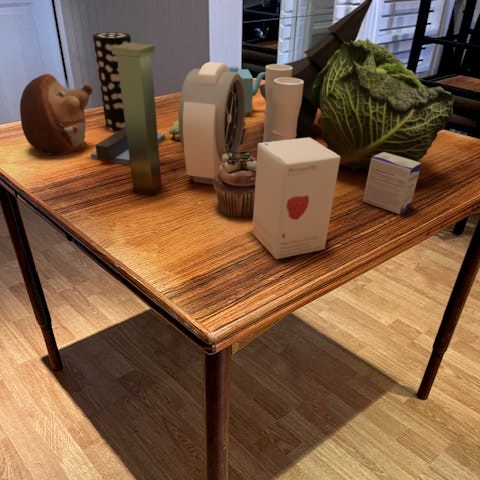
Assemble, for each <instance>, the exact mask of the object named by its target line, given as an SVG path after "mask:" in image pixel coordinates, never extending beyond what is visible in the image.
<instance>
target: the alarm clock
mask: <svg viewBox="0 0 480 480" xmlns="http://www.w3.org/2000/svg"><path fill="white" fill-rule="evenodd" d="M229 67H230V66H228V65H227V64H226V62H216V61H208V62H205V63H204V64H203V65H202V66H201V67H200V68H194V69H191V70H190V71H189V72H188V74H187V75H186V77H185V79H184V81H183V85H182V88H181V91H180V98H179V102H178V104H179V105H178V107H179V108H178V119H179V134H180V140H179V141H180V144H181V147H182V149H183V151H184V154H183V155H184V163H185V171H186V176H192V179H193V181H192V182H193V183H200V184H205V185H213V186H214V178H215V176H216V174H217V173H218V170H219V167H220V166H221V164H223V162H222V156H223V155H224V154H227V153H226V152H227V151H230V150H232V151H234V152H238V153H239V149H240V146H241V143H242V138H243V136H242V133H243V134H244V129H243V127H244V121H245V120H246V119H245V117H246V116H245V89H244V84H243V80H242V78H241V76H240V75H239V74H238V73H237V72H229ZM244 128H245V127H244ZM235 155H236V156H237V154H235Z"/></svg>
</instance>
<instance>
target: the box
mask: <svg viewBox="0 0 480 480" xmlns="http://www.w3.org/2000/svg"><path fill="white" fill-rule="evenodd" d="M421 168H422V163H421V162H420V161H413V160H410V159H406V158H403V157H400V156H396V155H393V154H389V153H386V152H383V153H380V154H378V155H375V156H373V157H372V158H371V163H370V168H369V169H368V174H367V178H366V183H365V189H364V194H363V198H362V202H364V203H366V204H369V205H371V206H374V207H377V208H380V209H383V210H386V211H388V212H391V213H394V214H397V215H402V214H403V213H405V212H406V211H408V210H409V209H410V208H411V206H412V202H413V198H414V194H415V191H416V186H417V183H418V179H419V175H420V172H421Z"/></svg>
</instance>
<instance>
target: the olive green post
mask: <svg viewBox="0 0 480 480" xmlns="http://www.w3.org/2000/svg"><path fill="white" fill-rule="evenodd" d="M155 52H156V47H155V45H154V44H146V43H135V42H131V43H124V44H121V45H118V46H115V47H112V54H113V55H117V60H118V68H119V77H120V85H121V93H122V101H123V109H124V118H125V126H126V134H127V142H128V150H129V158H130V164H129V167H130V175H131V182H132V190H133V193H138V194H145V195H149V196H153V195H155V194H156V193H158V191H159V190H160V189H161V188H162V187H163V184H162V173H161V160H160V148H159V147H160V146H159V143H158V135H157V133H158V123H157V112H156V99H155V88H154V75H153V73H154V72H153V63H152V54H153V53H155Z"/></svg>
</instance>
